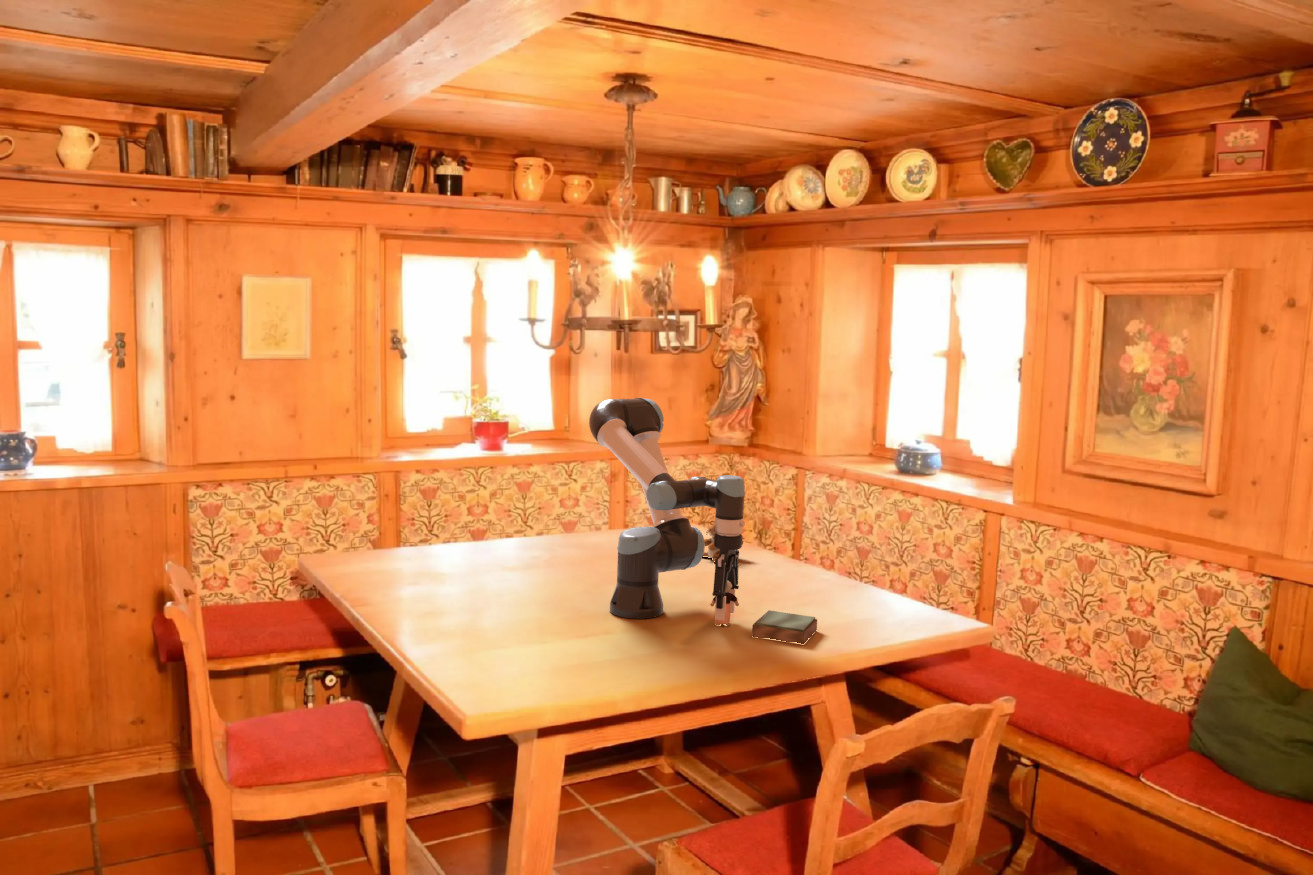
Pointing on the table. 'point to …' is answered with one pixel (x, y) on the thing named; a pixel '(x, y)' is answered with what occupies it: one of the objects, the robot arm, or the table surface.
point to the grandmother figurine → (728, 605)
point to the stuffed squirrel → (712, 544)
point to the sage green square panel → (784, 627)
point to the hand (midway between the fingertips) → (724, 615)
